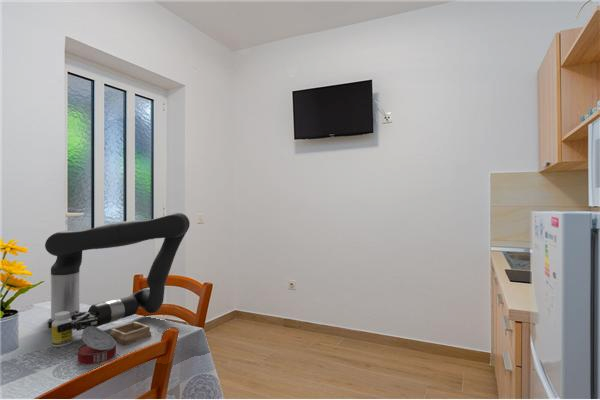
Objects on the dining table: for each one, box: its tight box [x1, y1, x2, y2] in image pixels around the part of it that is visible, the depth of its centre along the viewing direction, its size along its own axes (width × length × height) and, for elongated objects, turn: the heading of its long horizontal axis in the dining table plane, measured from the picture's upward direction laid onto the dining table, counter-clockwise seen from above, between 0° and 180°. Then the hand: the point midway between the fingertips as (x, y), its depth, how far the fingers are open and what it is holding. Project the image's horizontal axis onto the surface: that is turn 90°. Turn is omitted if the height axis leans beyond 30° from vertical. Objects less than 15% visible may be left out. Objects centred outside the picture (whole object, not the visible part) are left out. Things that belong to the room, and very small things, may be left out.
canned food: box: [77, 326, 117, 365], centre depth 105 cm, size 11×10×10 cm
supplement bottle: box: [51, 311, 73, 348], centre depth 113 cm, size 5×5×10 cm
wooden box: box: [109, 320, 152, 346], centre depth 118 cm, size 9×9×3 cm
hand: (53, 327), depth 111 cm, fingers closed on supplement bottle, 5 cm apart
